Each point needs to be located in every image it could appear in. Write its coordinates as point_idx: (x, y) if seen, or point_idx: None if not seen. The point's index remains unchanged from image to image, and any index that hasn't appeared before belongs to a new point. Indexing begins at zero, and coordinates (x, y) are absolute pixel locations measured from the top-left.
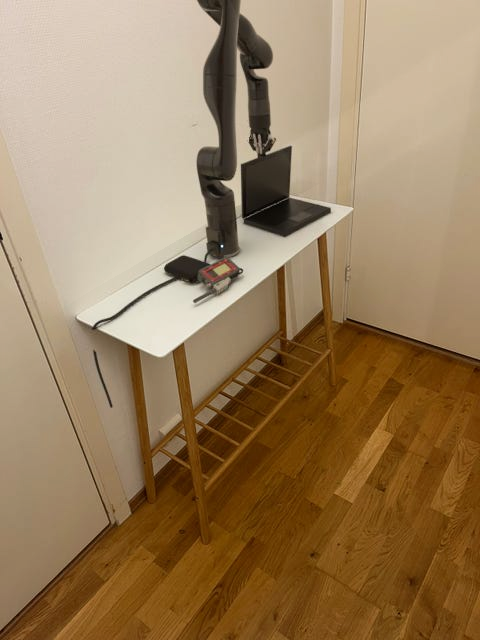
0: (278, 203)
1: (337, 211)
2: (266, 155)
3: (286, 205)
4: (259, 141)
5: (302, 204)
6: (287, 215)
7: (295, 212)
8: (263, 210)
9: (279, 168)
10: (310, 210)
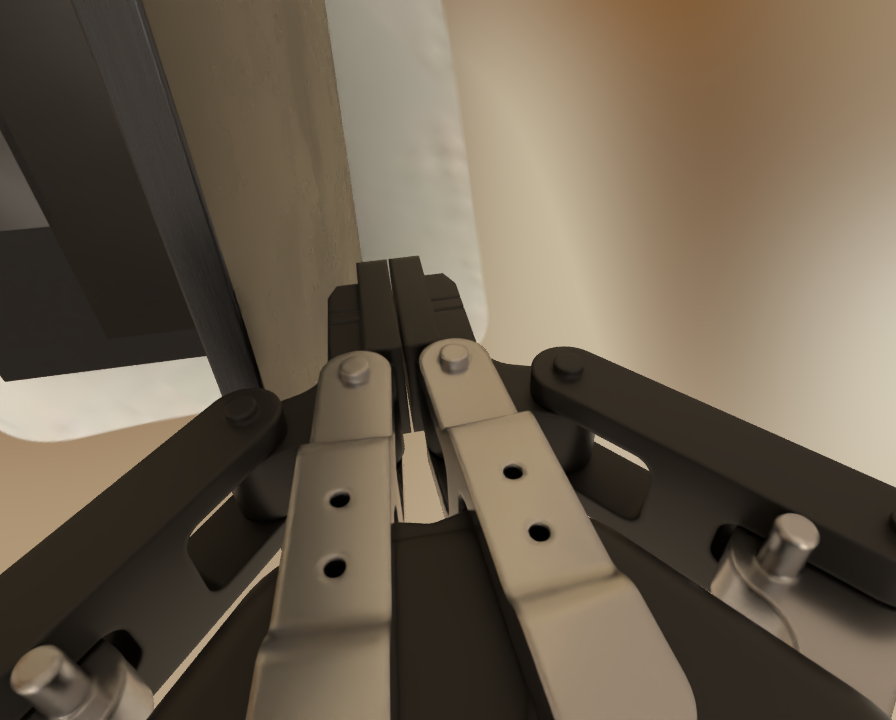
0: None
1: (10, 392)
2: (214, 371)
3: None
4: (354, 559)
5: (180, 310)
6: (35, 90)
7: (60, 180)
8: None
9: None
10: (39, 277)
